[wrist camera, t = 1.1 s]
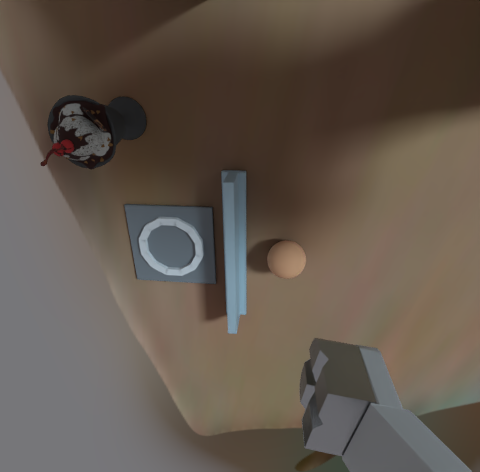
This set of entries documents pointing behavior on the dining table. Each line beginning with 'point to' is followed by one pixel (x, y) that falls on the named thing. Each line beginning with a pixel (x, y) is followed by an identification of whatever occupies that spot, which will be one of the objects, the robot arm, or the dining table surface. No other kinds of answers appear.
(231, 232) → the low wall
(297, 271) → the ball
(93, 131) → the sundae
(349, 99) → the dining table surface
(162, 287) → the dining table surface
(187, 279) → the mat
